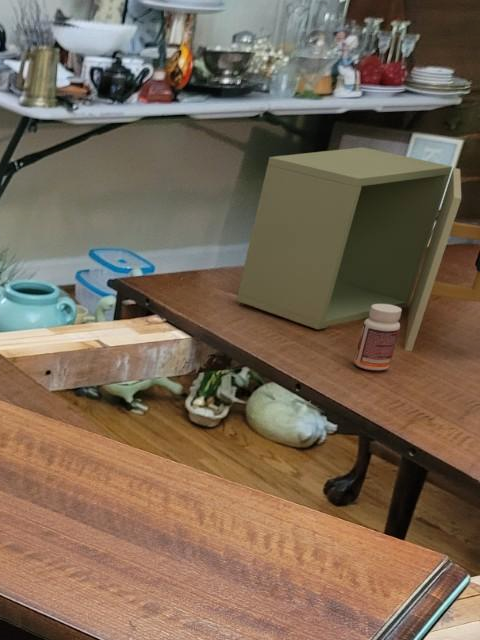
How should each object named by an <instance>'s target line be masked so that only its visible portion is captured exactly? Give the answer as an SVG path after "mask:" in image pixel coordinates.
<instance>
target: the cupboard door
mask: <svg viewBox="0 0 480 640" xmlns="http://www.w3.org/2000/svg"><path fill="white" fill-rule="evenodd" d="M461 178H462V177H461V168H455V167H452V170H451V173H450V176H449V179H448V183H447V186H446V189H445V192H444V195H443V198H442V201H441V205H440V208H439V211H438V214H437V217H436V220H435V224H434V227H433V230H432V233H431V236H430V239H429V242H428V246H427V249H426V252H425V255H424V258H423V261H422V265H421V268H420V271H419V274H418V277H417V280H416V284H415V287H414V290H413V293H412V296H411V299H410V303H409V306H408V315H407V324H406V333H405V339H404V341H405V342H404V351H407V352H413V349H414V345H415V342H416V340H417V337H418V333H419V330H420V327H421V324H422V322H423V318H424V315H425V311H426V309H427V306H428V303H429V300H430V296H437V297H443V298H450V299H455V300H462V301H468V302H474V303H478V302H479V303H480V272H479V271H476V274H475V278H474V281H473V284H472V286H469V285H468V286H467V285H461V284H455V283H449V282H442V281H436V278H437V275H438V271H439V269H440V266H441V263H442V259H443V257H444V253H445V250H446V248H447V244H448V241H449V238H450V237H456V238H461V239H462V238H464V239H470V240H477V241H480V225H477V224H470V223H464V222H457V221H455V219H456V217H457V213H458V211H459V207H460V204H461V201H462V179H461Z"/></svg>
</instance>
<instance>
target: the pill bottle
mask: <svg viewBox="0 0 480 640" xmlns="http://www.w3.org/2000/svg"><path fill="white" fill-rule="evenodd" d="M402 309H403V308H402ZM402 309H401V308H399V307H397V306H394V305H389V304H374V305H372V306H371V309H370V312H369V317H368V318H365V320H364V322H363V325H362V328H361V332H360V337H359V340H358V345H357V348H356V352H355V356H354V361H353V362H354V364H355V365H356V366H357V367H358V368H361V369H364V370H368V371H369V370H370V371H385V370H387V369H389V368H390V366H391V361H392V358H393V354H394V351H395V347H396V344H397V340H398V337H399V333H400V329H401V324H400V322H399V320H400V319H401V316H402V311H403V310H402Z"/></svg>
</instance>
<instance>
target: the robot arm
mask: <svg viewBox="0 0 480 640" xmlns="http://www.w3.org/2000/svg"><path fill="white" fill-rule="evenodd" d="M474 265H475V267H476V268H475V269H476V272H478V271H479V272H480V250H479V251H478V254H477V257H476V259H475V262H474Z"/></svg>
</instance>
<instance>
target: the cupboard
mask: <svg viewBox="0 0 480 640" xmlns="http://www.w3.org/2000/svg"><path fill="white" fill-rule="evenodd" d="M267 162H268V163H267V165H266V170H265V175H264V179H263V182H262V183H263V184H262V188H261V192H260V196H259V201H258V204H257V210H256V214H255V218H254V223H253V227H252V231H251V235H250V238H249V239H250V240H249V244H248V248H247V254H246V257H245V260H244V261H245V262H244V266H243V270H242V274H241V279H240V283H239V288H238V292H237V296H236V302H239V303H242V304H244V305H247V306H250V307H253V308H256V309H259V310H261V311H264V312H267V313H270V314H272V315H276V316H279V317H282V318H284V319H286V320H289V321H292V322H295V323H298V324H301V325H304V326H307V327H309V328H311V329H312V328H313V329H315V330H322V329H326V328H330V327H331V326H333V325H334V326H335V325H338V324H345V323H350V322H353V321H360V320H364V319H367V318H369V312H370V309H371V306H372V305H374V304H389V305H394V306H397V307H399V308H401V309H405V308H409V307H410V303H411V300H412V297H413V294H414V291H415V288H416V284H417V281H418V278H419V275H420V272H421V269H422V265H423V262H424V259H425V256H426V253H427V250H428V246H429V243H430V240H431V237H432V234H433V231H434V227H435V224H436V221H437V218H438V215H439V212H440V208H441V205H442V202H443V199H444V196H445V193H446V190H447V186H448V183H449V180H450V177H451V174H452V170H453V166H452V165H448V164H444V163H438V162H433V161H430V160H424V159H420V158H416V157H415V158H414V157H411V156H406V155H401V154H396V153H391V152H386V151H382V150H378V149H373V148H368V147H363V146H362V147H353V148H345V149H334V150H324V151H316V152H315V151H314V152H306V153H295V154H287V155H275V156H269V158H268V161H267Z"/></svg>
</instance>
